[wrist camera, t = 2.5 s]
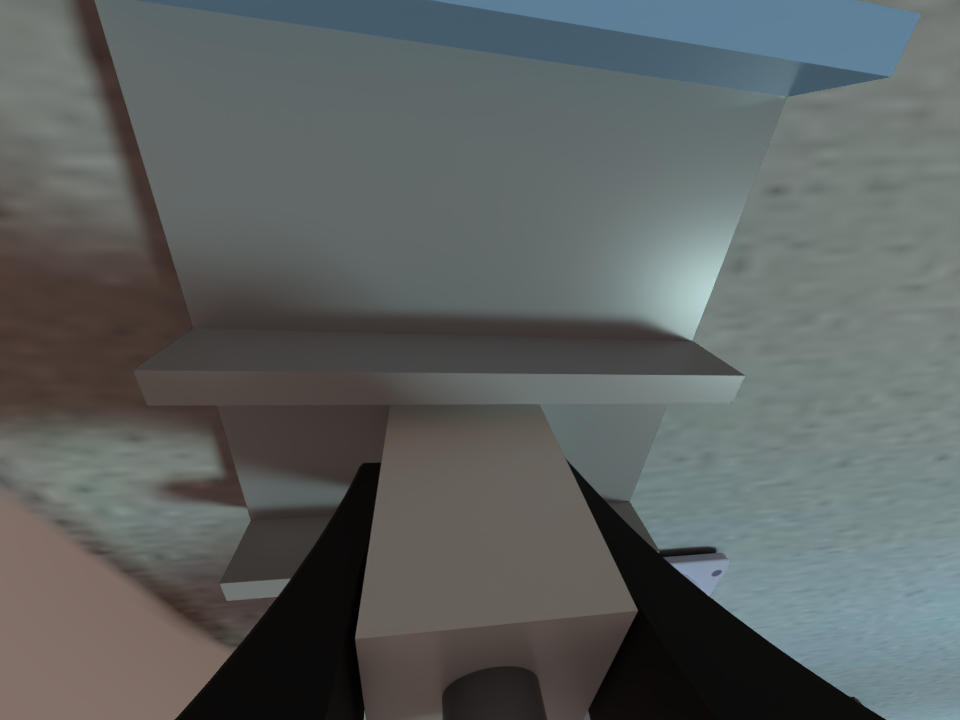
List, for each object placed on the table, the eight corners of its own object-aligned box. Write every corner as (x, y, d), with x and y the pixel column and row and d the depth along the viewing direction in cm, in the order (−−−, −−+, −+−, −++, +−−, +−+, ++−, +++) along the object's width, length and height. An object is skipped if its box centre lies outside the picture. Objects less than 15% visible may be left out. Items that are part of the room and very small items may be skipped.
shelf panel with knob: (612, 495, 15) (652, 566, 12) (267, 511, 13) (227, 600, 10) (766, 61, 8) (921, 14, 6) (119, -45, 6) (-98, -194, 4)
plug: (515, 489, 12) (614, 849, 6) (395, 494, 12) (357, 904, 5) (533, 390, 11) (707, 755, 4) (392, 390, 10) (327, 821, 3)
